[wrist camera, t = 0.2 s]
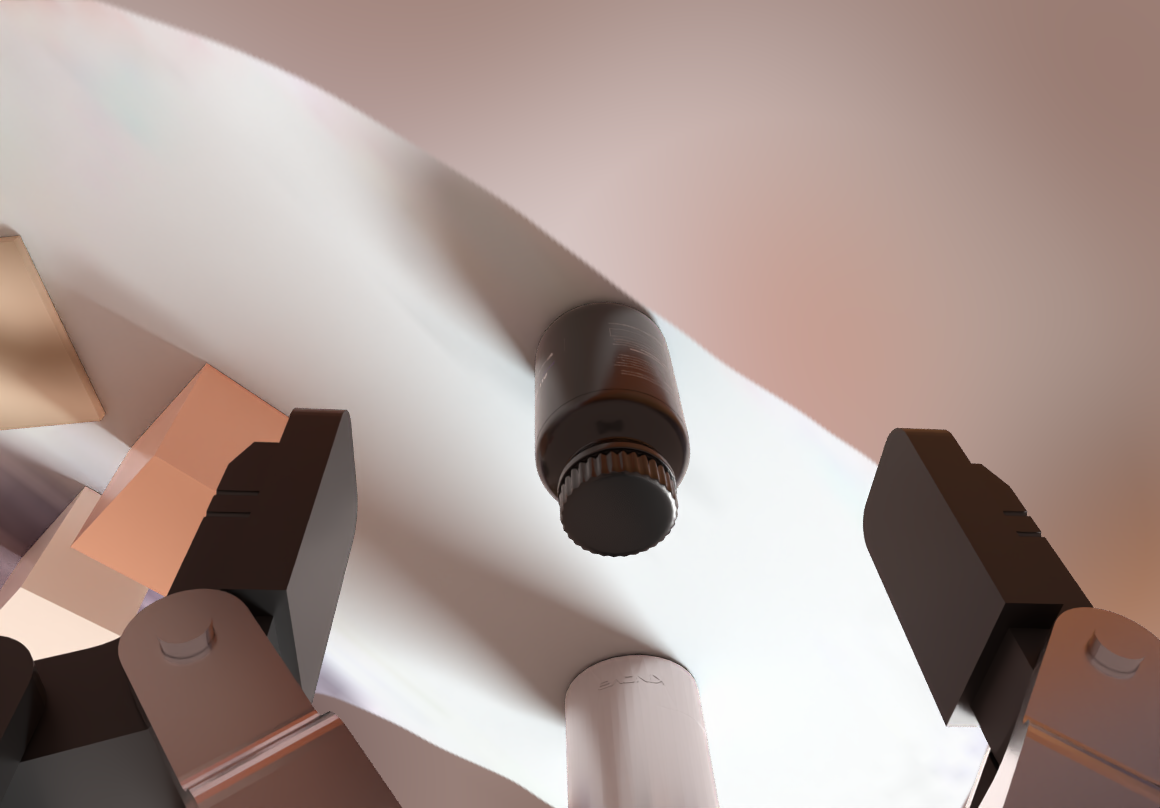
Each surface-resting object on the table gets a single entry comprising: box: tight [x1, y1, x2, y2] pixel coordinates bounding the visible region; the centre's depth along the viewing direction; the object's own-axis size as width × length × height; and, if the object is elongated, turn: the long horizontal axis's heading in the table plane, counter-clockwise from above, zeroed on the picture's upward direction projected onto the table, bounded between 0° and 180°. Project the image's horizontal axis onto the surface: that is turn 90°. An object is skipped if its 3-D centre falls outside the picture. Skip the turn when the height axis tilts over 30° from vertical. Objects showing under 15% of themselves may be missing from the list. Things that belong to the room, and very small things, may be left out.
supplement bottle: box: [535, 302, 690, 557], centre depth 41 cm, size 7×7×12 cm
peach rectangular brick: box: [70, 363, 289, 597], centre depth 44 cm, size 7×5×8 cm
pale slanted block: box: [0, 486, 149, 661], centre depth 48 cm, size 7×5×8 cm
